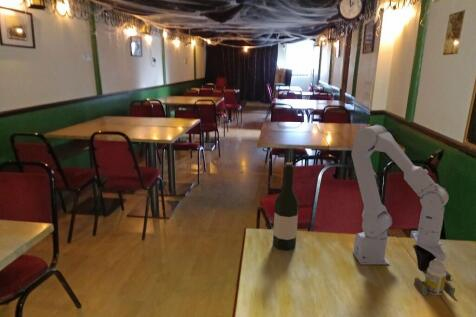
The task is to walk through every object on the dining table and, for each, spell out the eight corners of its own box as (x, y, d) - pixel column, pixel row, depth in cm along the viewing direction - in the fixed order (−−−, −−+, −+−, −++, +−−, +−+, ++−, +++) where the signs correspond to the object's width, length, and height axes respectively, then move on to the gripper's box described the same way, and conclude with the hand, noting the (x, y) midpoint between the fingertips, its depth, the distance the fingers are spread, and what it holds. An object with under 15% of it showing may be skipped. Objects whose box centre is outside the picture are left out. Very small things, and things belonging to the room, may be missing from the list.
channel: (423, 295, 95) (424, 288, 94) (413, 284, 100) (415, 277, 99) (453, 295, 95) (455, 288, 94) (442, 284, 100) (444, 277, 99)
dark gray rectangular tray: (430, 278, 103) (431, 275, 102) (419, 267, 109) (420, 264, 108) (450, 278, 103) (450, 275, 103) (438, 267, 109) (438, 264, 108)
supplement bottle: (438, 286, 99) (443, 260, 97) (446, 296, 95) (451, 269, 93) (421, 284, 100) (425, 259, 98) (428, 294, 95) (432, 268, 93)
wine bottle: (270, 239, 125) (274, 160, 117) (292, 238, 126) (297, 160, 118) (275, 251, 117) (279, 167, 109) (299, 250, 118) (305, 166, 110)
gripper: (459, 240, 92) (451, 284, 96) (428, 217, 107) (422, 257, 110) (434, 240, 92) (426, 284, 96) (406, 217, 106) (400, 257, 110)
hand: (422, 269), depth 103 cm, fingers closed
